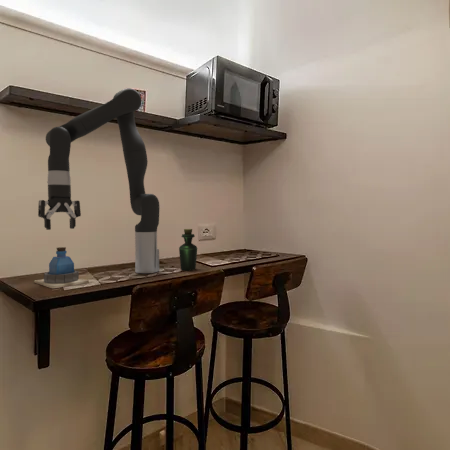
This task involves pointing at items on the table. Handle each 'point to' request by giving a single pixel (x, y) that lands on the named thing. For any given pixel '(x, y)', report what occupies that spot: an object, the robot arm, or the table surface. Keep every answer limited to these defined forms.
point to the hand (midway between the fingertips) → (60, 229)
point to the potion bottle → (188, 252)
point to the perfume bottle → (61, 263)
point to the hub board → (81, 281)
